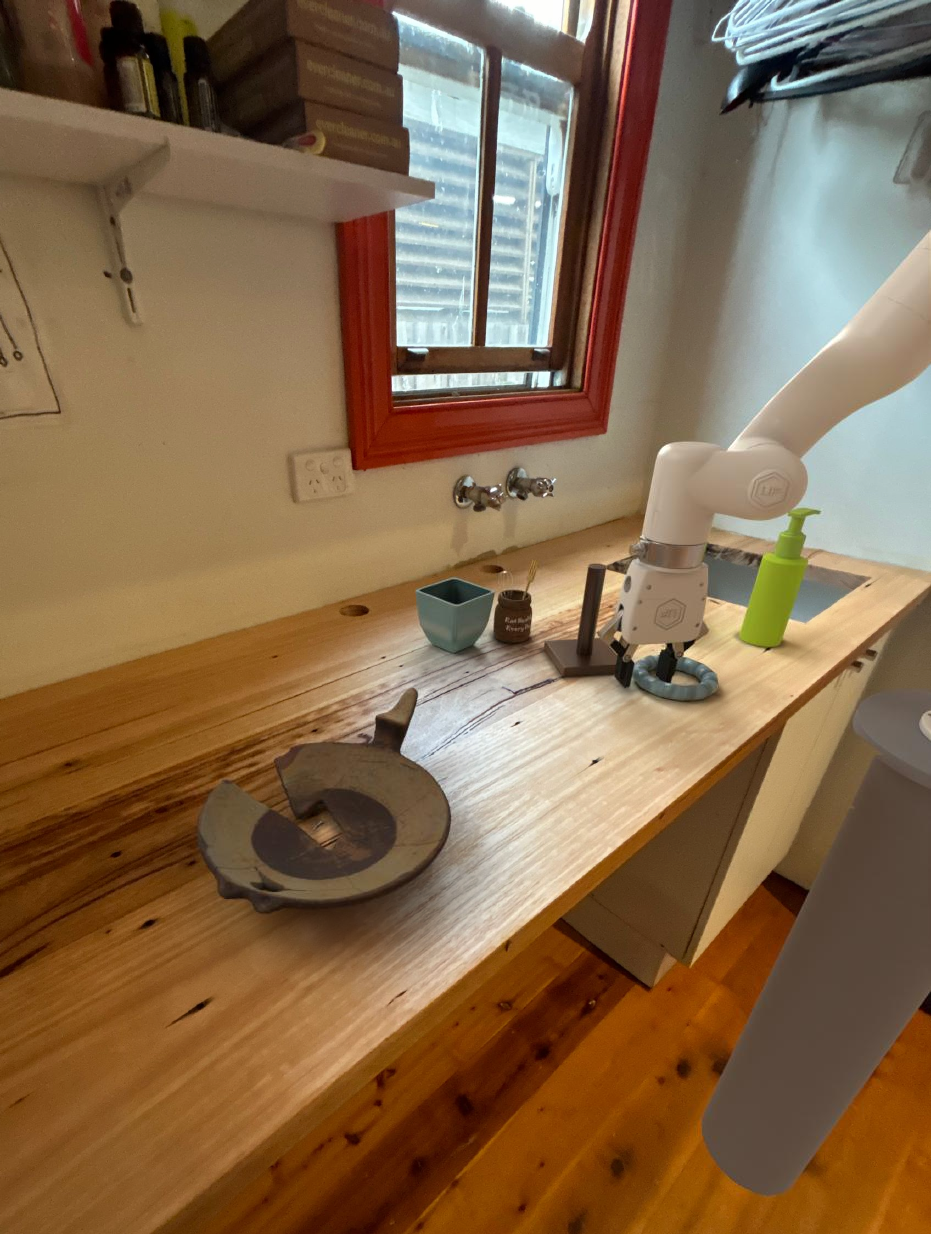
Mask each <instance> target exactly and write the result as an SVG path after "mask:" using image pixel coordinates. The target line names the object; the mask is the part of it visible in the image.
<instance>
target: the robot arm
mask: <svg viewBox="0 0 931 1234" xmlns="http://www.w3.org/2000/svg"><path fill="white" fill-rule="evenodd" d="M930 365H931V229H930V230H929V231H928V232H927V233H926V234H925V236H924V237H923V238H922V239H921V240H920V241H919V242H918V243H917V245H916V246H915V247H914V248H913V249H912V250H911V251H910V253H908V255H907V256H906V257H905V259H903V261H902V262H901V263H900V264H899V265H898V266H897V267H896V268H895V270H894V271H893V272H892V273H890V275H889V276H888V278H887V279H886V280H885V281H884V282H883V283H882V284H881V286H880V287H878V289H877V290H876V291H875V293H874V294H872V295H871V296H870V298H869V299H868V300H867V301H866V303H864V305H863V306H862V307H861V308H859V310H858V312H856V314H855V315H853V317H852V318H851V319H850V320H849V321H848V322H847V323H846V324H845V326H843V328H842V329H841V330H839V332H838V333H837V334H836V335H835V336H834V337H833V338H832V339H830V341H829V342H827V343H826V344H825V345H824V346H823V347H822V348H821V349H820V350H819V351H818V352H817V353H816V354H815V355H814V356H813V357H812V358H811V359H810V360H809V361H808V362H807V363H806V364H805V365H804V366H803V367H802V368H801V369H800V370H799V371H798V372H797V373H796V374H795V375H794V376H792V377H791V379H789V380H788V381H787V383H785V384H784V386H782V388H780V389H779V391H777V392H776V393H775V394H774V395H773V396H772V398H771V399H769V401H768V402H767V403H766V404H765V405H764V406H763V407H762V409H761V410H760V411H759V412H758V413H757V414H756V415H755V416H754V418H753V419H752V420H751V421H750V422H749V423H748V425H747V426H746V427H745V428H744V429H743V430H742V431H741V433H740V434H739V435H738V436H737V437H736V438H735V440H734V441H733V442H732V443H731V445H729V447H728V448H727V449H726V448H724V447H723V446H721V445H719V444H716V443H711V442H705V441H675V442H670V443H667V444H665V445H664V446H662V447H661V449H659V451H658V452H657V455H656V458H655V462H654V468H653V473H652V479H651V483H650V489H649V494H648V500H647V504H646V509H645V516H644V520H643V526H642V530H641V531H642V532H641V535H640V536H639V538H638V542H636V543H633V544H632V543H631V544H630V545H629V547H628V554H629V556H635V557H636V559H635V558H634V559H632V560H631V562H630V564H629V566H628V568H627V572H626V574H625V575H624V579H623V582H622V585H621V588H620V591H619V595H618V597H617V598H618V599H617V602H616V606H615V611H614V615H613V616H612V617H611V618H610V619H609V620H608V621H607V622H606V624H604V626H602V627H601V628H600V629H599V631H598V632H597V636H598V637H597V638H600V639H601V640H602V641H603V642H605V643H606V644H607V645H608V646H609V647H610V648H611V649H612V650H613V651H614V652H615V653H616V654H617V655H618V656H617V661H616V667H615V672H614V674H613V675H614V677H615V680H616V681H617V682H618V683H619V684H620V685H621V686H622V688H623V689H629V688H630V687H631V683H632V679H633V678H632V674H633V669H634V663H635V661H634V660H633V659H632V658H633V656H634V655H635V653H636V651H637V649H638V647H639V646H642V645H659V644H660V645H664V647H665V648H664V649H661V650H660V652H659V654H658V655H659V659H658V664H657V668H656V669H655V672H654V675H655V678H656V679H659V680H661V681H663V682H666V683H672V681H673V677H674V676H675V673H676V670H675V669H676V665H677V661H678V659H680V658H682V657H684V655H685V652H687V650H689V649H690V648H691V647H692V646H694V645H695V644H696V642H697V641H699V640H701V639H702V638H704V637H705V636H706V635H708V634H709V631H710V630H709V628H708V626H707V624H706V622H705V621H704V615H705V612H706V604H707V598H708V590H709V589H708V587H709V565H708V564H707V563H705V562H704V559H705V555H706V550H707V548H708V547H707V546H708V542H709V539H710V535H711V530H712V527H713V523H714V522H713V521H714V519H715V515H716V514H717V515H724V516H728V517H733V518H737V519H741V520H747V521H757V522H758V521H759V522H762V521H770V520H775V519H778V518H780V517H782V516H785V515H788V512H790V511H792V510H794V509H796V507H797V506H798V505H799V504H800V503H801V501H802V500H803V498H804V496H805V495H806V492H807V488H808V484H809V475H808V470H807V467H806V466H805V464H804V462H803V461H802V458H803V457H804V456H805V455H806V454H807V453H808V452H809V451H810V450H811V449H812V448H813V447H814V446H815V445H816V444H817V443H818V442H819V441H820V440H821V439H822V438H824V436H825V435H827V434H828V433H829V432H830V431H831V430H832V429H833V428H835V427H836V426H837V425H839V424H840V423H841V422H842V421H844V420H845V419H846V418H848V417H849V416H851V415H852V414H854V413H855V412H857V411H859V410H861V409H863V408H865V407H866V406H868V405H869V406H870V405H871V404H874V403H875V402H877V401H880V400H882V399H884V398H887V397H888V396H890V395H892V394H894V393H895V392H898V391H899V390H901V389H902V388H904V387H906V386H907V385H909V384H910V383H911V382H914V381H915V380H916V379H917V378H918V377H920V375H922V374H923V373H924V371H926V370H927V369H928V368H929V366H930ZM617 632H619V633H621V636H620V637H619V639H617V638H616V637H615V635H616V633H617ZM919 727H920V730H921V731H922V733H923V734H924V735H925V736H926V737H927V738H928V739H929V740H930V741H931V710H930V711H927V712H926V713H924V714H923V716H922V718H921V719H920V722H919Z"/></svg>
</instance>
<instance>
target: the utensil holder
mask: <svg viewBox="0 0 931 1234" xmlns="http://www.w3.org/2000/svg"><path fill="white" fill-rule="evenodd" d="M539 563H540V562H539V561H537V560H535V559H532V560H531V564H530V567H529V570H528V572H527V574H526V581H527V583H526V586H525V590H522V589H514V577H513V575H512V574H510V571H507V570H505V571H504V570H503V571H501V572H500V574H499V575H498V576H497V578H498V579H500V578H501V579H502V583H505V581H504V580H505V579H504V578H505V575H502V574H506V575H508V573H509V574H510V576H511V584H512V586H511V588H512V589H505V588H502V591H501V586H502V587H504V584H501V586H500V581H497V583H498V589H499V593H498V596H497V604H496V605H495V608H494V613H493V625H492V626H493V628H492V629H493V630H492V631H493V636H494V638H495V639H497V640H498V641H500V642H504V643H509V644H517V643H523V642H525V641H527V640H529V638H530V635H531V630H532V621H533V607H532V605H531V604H532V594H531V593H529V592H528V590H529V588H530V585H531V583H533V582H534V580H535V577H536V573H537V570H538V567H539ZM506 577H507V578H506V581H508V585H511V584H510V580H509V579H510V577H509V576H506Z"/></svg>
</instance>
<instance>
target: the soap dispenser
mask: <svg viewBox="0 0 931 1234" xmlns="http://www.w3.org/2000/svg"><path fill="white" fill-rule="evenodd" d="M821 512H822V511H821V510H818V509H813V508H809V507H798V508H793V509H792V510H791V511H790V512H788V513H787V514H786V516H787V517H791V518H790V521H789V524H788V528H787V529H786V530H784V531H781V532H779V535H778V538H777V541H776V545H775V548H774V551H773V552H766V553H764V554H763V555H762V558H761V562H760V565H759V567H758V572H757V575H756V578H755V580H754V585H753V588H752V591H751V595H750V597H749V601H748V604H747V608H746V611H745V614H744V618H743V620H742V625H741V628H740V631H739V634H738V636H739V638H740V640H742V641H743V642H745V643H747V644H750V645H753V646H757V647H763V648H774V647H778V646H780V645H781V643H782V641H783V638H784V634H785V632H786V629H787V626H788V623H789V620H790V618H791V614H792V611H793V608H794V605H795V603H796V599H797V597H798V594H799V590H800V587H801V584H802V582H803V579H804V576H805V573H806V570H807V567H808V564H809V559H808V558H806V557H804V556H801V554H802V551H803V548H804V546H805V543H806V538H807V535H806V534H804V532H802V530H803V527H804V524H805V521H806V518H807V517H809V516H812V515H820V514H821Z"/></svg>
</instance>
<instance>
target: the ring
mask: <svg viewBox="0 0 931 1234" xmlns="http://www.w3.org/2000/svg"><path fill="white" fill-rule="evenodd" d="M659 655H660V654H653V655H652V654H651V655H647V656H645V657H642V658H640V659H638V660H636V661H634V669H633V674H632V679H633V680H634V681H635V683H636V684H637V685H638V686H639V687H640V688H641V689H642V690H644V691H646V692H649V693H651V694H653V695H655V696H658V697H660V698H665V699H669V700H674V701H675V700H676V701H680V702H681V701H682V702H684V701H699V700H704V699H706V698H708V697H710V696H711V695H713V694H715V693H716V692H717V691H718V690H719V676H718V674H717V673H716V672H715V671H713V670H712V669H711V668H710V667H709V666H708V665H706V664H705V663H702V662H700V661H697V660H695V659H693V658H690V657H686V656H683V657H682V658H680V659H678V661H677V665H676V669H675V671H680V672H684V673H686V674H689V675H691V676H694V677H696V678H697V679H698V680H699V681H700V683H698V684H685V685H684V684H683V685H682V684H677V683H672V682H671V683H666V682H663V681H661V680H659V679H658V678H657V677H654V676H652V675H651V674H650V673H649V672H650V671H652V670H656V668H657V664H658V659H659Z"/></svg>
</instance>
